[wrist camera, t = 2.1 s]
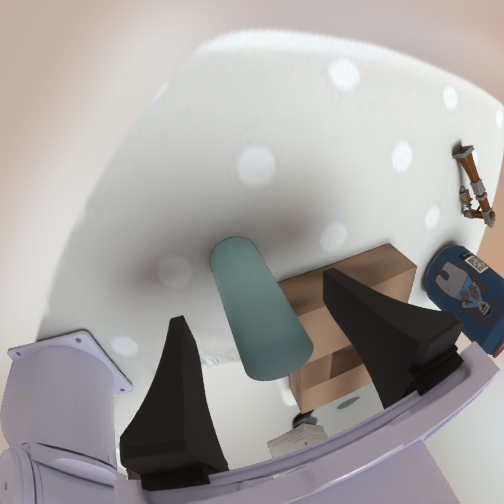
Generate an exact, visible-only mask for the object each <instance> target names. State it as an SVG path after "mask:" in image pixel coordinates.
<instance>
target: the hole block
mask: <svg viewBox="0 0 504 504" xmlns="http://www.w3.org/2000/svg"><path fill="white" fill-rule="evenodd" d="M333 267H334V268H336V269H337V270H339V271H341V272H343V273H344V274H346V275H348V276H350V277H351V278H353V279H355V280H357V281H358V282H360V283H362V284H364V285H366V286H368V287H370V288H372V289H373V290H376V291H378V292H380V293H382V294H384V295H386V296H389V297H391V298H394V299H396V300H399V301H402V302H405V303H408V300H409V296H410V293H411V289H412V285H413V281H414V277H415V273H416V269H417V266H416V265H415V264H414V263H413V262H412V261H410V260H409V259H408V258H407V257H406V256H405V255H403V254H402V253H401V252H400V251H398V250H397V249H396V248H395V247H394V246H392V245H391V244H390V243H389V244H386V245H384V246H381V247H378V248H376V249H373V250H370V251H367V252H365V253H362V254H359V255H356V256H354V257H351V258H348V259H345V260H343V261H340V262H337V263H334V264H331V265H328V266H326V267H323V268H320V269H317V270H314V271H311V272H308V273H305V274H302V275H299V276H296V277H293V278H290V279H287V280H284V281H281V282H278V285H279V287H280V289H281V290H282V292H283V294H284V295H285V297H286V299H287V300H288V302H289V304H290V305H291V307H292V309H293V310H294V312H295V314H296V315H297V317H298V319H299V320H300V322H301V324H302V326H303V327H304V329H305V331H306V332H307V334H308V336H309V337H310V339H311V341H312V342H313V346H314V349H313V353H312V355H311V357H310V358H309V360H308V361H307V362H306V363H305V364H304V365H303V366H302V367H301V368H300V369H298V370H297V371H295V372H293V373H292V374H290V375H289V382H290V389H291V392H292V394H293V396H294V398H295V400H296V402H297V404H298V406H299V409H300V411H301V413H302V414H303V413H306V412H308V411H311V410H313V409H316V408H318V407H320V406H322V405H325V404H327V403H329V402H332V401H334V400H336V399H338V398H340V397H343V396H345V395H347V394H349V393H351V392H353V391H355V390H357V389H359V388H361V387H363V386H365V385H367V384H369V383H370V382H372V379H371V377H370V375H369V373H368V371H367V369H366V367H365V365H364V363H363V362H362V360H361V358H360V356H359V354H358V353H357V351H356V349H355V348H354V346H353V345H352V343H351V342H350V341H349V339H348V338H347V336H346V335H345V334H344V332H343V331H342V330H341V328H340V327H339V326H338V324H337V323H336V321H335V320H334V319H333V317H332V316H331V314H330V312H329V311H328V309H327V307H326V305H325V303H324V301H323V271H324V270H327V269H330V268H333Z"/></svg>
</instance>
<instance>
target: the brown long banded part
mask: <svg viewBox="0 0 504 504" xmlns="http://www.w3.org/2000/svg"><path fill="white" fill-rule="evenodd" d="M473 150H474V148H473V145H470V146H463V147H462V150H460V151H459V152H458V153H457V154H456V155H452V156H453V159H455V158H458V160H459V161H460V163H461V164H462V166H463V168H464V169H465V171H466V173H467V175H468V176H469V179H470V181H471V183H470V185H471V186H472V189H473V191H474V195H476V197H475V198H476V200H478V201H479V204H480V205H479V207H478V208H477V210H474V209H471V207H470V206H471V205H472V204H470V202H471V201H472V199H473V198H470V194H469V189H465V187H464V186H461V187H460V191H461V193H459V195H460V197H461V199H462V202H461V204H466V205H467V206H466V207H468V209H470V210H465V211H464V212H463V214H464V217H468V218H471V219H473V218H480V219H484V221H485V224H488V225H489V227H491V228H492V227H493V226H494V221H495V213H494V212H493V211H492V208H490V206H489V203H488V200H487V192H485V190H486V189H485V188H484V186H483V183H482V179H480V178H479V176H478V173H477V170H476V166H475V163H474V160H473V156H472V151H473ZM469 207H470V208H469ZM480 208H481V209H482V211H479V209H480Z"/></svg>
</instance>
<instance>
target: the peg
mask: <svg viewBox="0 0 504 504" xmlns="http://www.w3.org/2000/svg"><path fill="white" fill-rule="evenodd" d="M210 264H211V268H212V271H213V274H214V278H215V281H216V284H217V287H218V291H219V294H220V297H221V300H222V303H223V306H224V310H225V313H226V316H227V319H228V322H229V325H230V328H231V331H232V334H233V337H234V340H235V343H236V346H237V349H238V352H239V355H240V358H241V361H242V364H243V366H244V369H245V372H246V374H247V375H248V376H249V377H250V378H252V379H254V380H258V381H271V380H276V379H280V378H283V377H285V376H288V375H290V374H292V373H293V372H295V371H297V370H298V369H300V368H301V367H302V366H303V365H304V364H305V363H306V362H307V361H308V360H309V358H310V357H311V355H312V353H313V349H314V346H313V342H312V341H311V339H310V337H309V336H308V334H307V332H306V331H305V329H304V327H303V326H302V324H301V322H300V320H299V319H298V317H297V315H296V314H295V312H294V310H293V309H292V307H291V305H290V304H289V302H288V300H287V299H286V297H285V295H284V294H283V292H282V290H281V289H280V287H279V285H278V283H277V282H276V280H275V278H274V277H273V275H272V273H271V272H270V270H269V268H268V267H267V265H266V263H265V262H264V260H263V258H262V257H261V255H260V253H259V252H258V250H257V248H256V247H255V245H254V244H253V243H252V242H251V241H250V240H248V239H246V238H243V237H231V238H227V239H225V240H223V241H221V242H220V243H219V244H218V245H217V246H216V247H215V248H214V249H213V251H212V253H211V257H210Z"/></svg>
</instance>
